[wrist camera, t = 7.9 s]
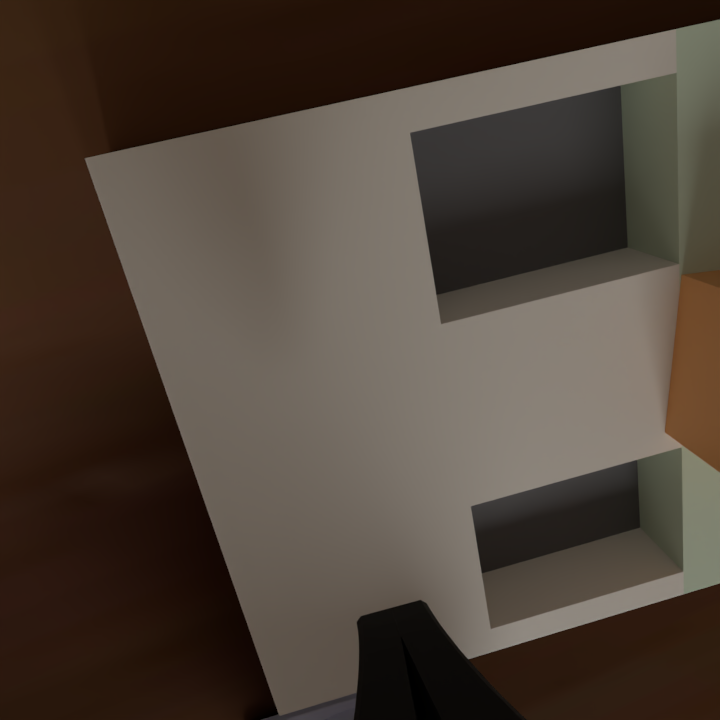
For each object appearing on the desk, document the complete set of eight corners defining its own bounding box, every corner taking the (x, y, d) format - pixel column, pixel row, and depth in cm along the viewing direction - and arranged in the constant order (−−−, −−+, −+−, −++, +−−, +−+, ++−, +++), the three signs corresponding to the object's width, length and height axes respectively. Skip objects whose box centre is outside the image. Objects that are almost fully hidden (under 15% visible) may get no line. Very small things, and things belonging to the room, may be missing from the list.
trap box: (807, 491, 26) (930, 572, 21) (274, 647, 24) (283, 772, 19) (844, -9, 19) (1035, -50, 15) (109, 152, 17) (62, 163, 13)
